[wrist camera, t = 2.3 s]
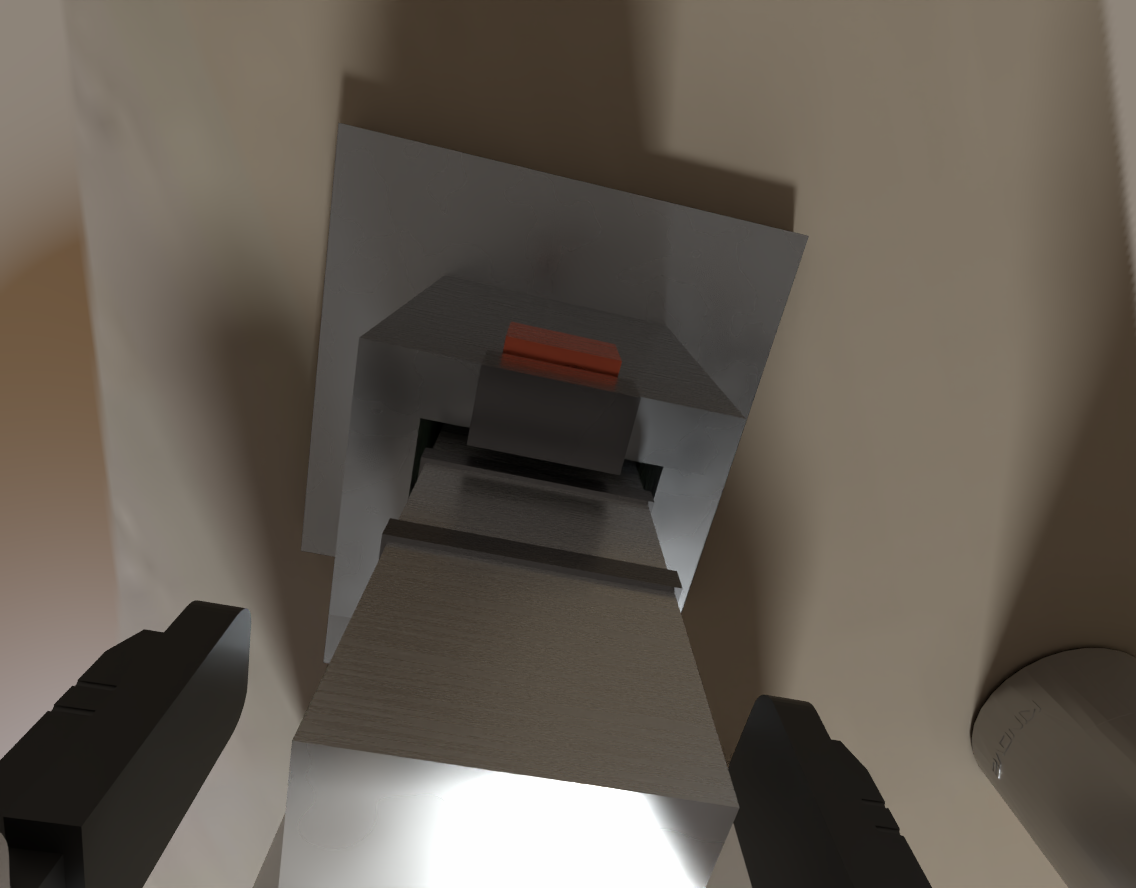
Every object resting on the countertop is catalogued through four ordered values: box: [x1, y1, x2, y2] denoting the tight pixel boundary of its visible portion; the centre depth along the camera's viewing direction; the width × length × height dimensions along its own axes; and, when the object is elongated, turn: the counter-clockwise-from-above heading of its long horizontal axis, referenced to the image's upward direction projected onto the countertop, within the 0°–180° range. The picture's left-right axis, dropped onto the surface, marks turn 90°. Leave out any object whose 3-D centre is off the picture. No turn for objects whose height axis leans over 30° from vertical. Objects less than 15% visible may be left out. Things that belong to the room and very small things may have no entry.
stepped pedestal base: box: [301, 123, 809, 663], centre depth 20 cm, size 16×16×13 cm
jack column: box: [278, 423, 740, 888], centre depth 15 cm, size 5×5×18 cm
